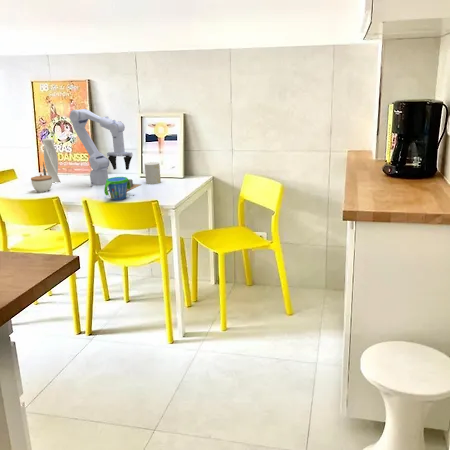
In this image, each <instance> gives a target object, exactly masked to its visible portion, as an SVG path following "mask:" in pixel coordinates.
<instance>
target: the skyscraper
mask: <svg viewBox="0 0 450 450" xmlns="http://www.w3.org/2000/svg"><path fill="white" fill-rule="evenodd" d="M50 136H52V134H49V135H46V137H45V138H42V140H41V141H42V144H43V159H44V161H42V172H43V175H49V176H52V183H55V182H60V183H61V180H60V178H59V174H58V173H59V172H58V171H59V159H58V154H57V150H56V147H55V144H54V143H55V137H56V136H55V134H53V138H51V137H50ZM55 184H56V183H55Z"/></svg>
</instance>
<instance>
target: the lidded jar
mask: <svg viewBox="0 0 450 450" xmlns="http://www.w3.org/2000/svg"><path fill="white" fill-rule="evenodd" d="M30 180H31V184H32V188H33V189H34V190H35V191H36V192H37V193H45V192H44V191H47V192H49V191H50V189H52V186H53V184H52V176H49V175H48V174H46V175H44V174H43V175H42V173H40V174H39V175H35V176H32V177H31V178H30ZM48 190H49V191H48Z"/></svg>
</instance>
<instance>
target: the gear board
mask: <svg viewBox="0 0 450 450" xmlns="http://www.w3.org/2000/svg"><path fill="white" fill-rule="evenodd" d="M142 185H143V184H141V183H139V184H135V183H133V186H132V187H131V188H130V189H127V192H130V191H132V190H134V189H135V188H138V187H140V186H142ZM107 190H108V192H109V189H107Z"/></svg>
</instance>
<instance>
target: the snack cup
mask: <svg viewBox="0 0 450 450" xmlns="http://www.w3.org/2000/svg"><path fill="white" fill-rule="evenodd" d="M130 188H131V185H130V181H129V178H128V177H126V176H125V177H124V176H114V177H113V176H112V177H108V179H107V180H106V184H105V185H104V195H105V196H109V195H110V198H111V200H113V201H121V200H125V199H127V194H128V193H127V189H130ZM108 190H109V191H108Z"/></svg>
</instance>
